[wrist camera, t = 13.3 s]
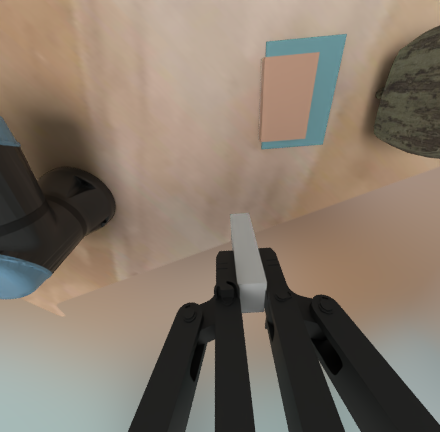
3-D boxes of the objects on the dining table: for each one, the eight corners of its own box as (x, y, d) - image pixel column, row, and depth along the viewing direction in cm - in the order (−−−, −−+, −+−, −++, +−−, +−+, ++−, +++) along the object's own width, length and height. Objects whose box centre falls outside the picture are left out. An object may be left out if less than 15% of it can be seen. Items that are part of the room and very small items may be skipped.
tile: (261, 142, 35) (305, 138, 34) (264, 57, 28) (319, 52, 28) (258, 139, 37) (300, 135, 36) (261, 59, 30) (312, 54, 30)
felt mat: (261, 148, 38) (261, 149, 38) (266, 42, 29) (266, 41, 29) (321, 144, 38) (322, 144, 37) (345, 34, 29) (346, 33, 28)
